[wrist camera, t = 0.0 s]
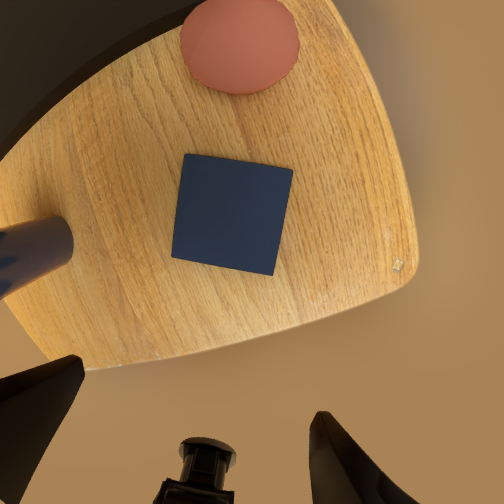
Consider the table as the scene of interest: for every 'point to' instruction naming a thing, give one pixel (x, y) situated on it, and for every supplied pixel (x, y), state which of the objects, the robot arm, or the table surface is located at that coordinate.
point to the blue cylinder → (32, 251)
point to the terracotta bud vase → (239, 44)
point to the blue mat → (230, 213)
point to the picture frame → (68, 49)
